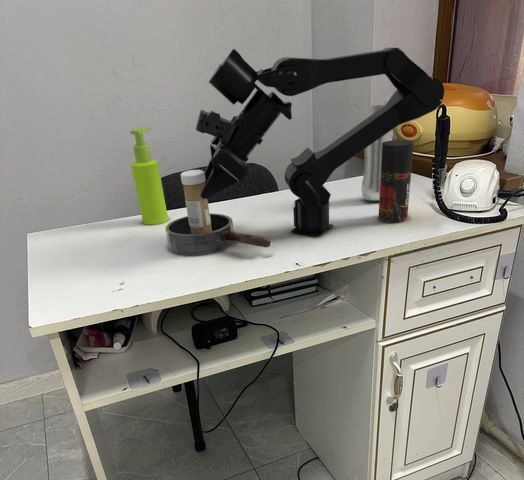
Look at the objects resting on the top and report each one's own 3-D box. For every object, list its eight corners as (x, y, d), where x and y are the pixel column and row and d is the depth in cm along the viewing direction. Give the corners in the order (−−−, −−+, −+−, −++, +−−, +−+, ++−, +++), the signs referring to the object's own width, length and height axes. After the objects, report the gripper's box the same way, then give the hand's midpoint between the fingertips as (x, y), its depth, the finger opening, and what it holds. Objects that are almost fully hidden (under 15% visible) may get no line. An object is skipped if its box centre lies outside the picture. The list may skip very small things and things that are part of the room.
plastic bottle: (392, 202, 112) (398, 106, 101) (363, 204, 112) (366, 109, 102) (386, 195, 118) (392, 103, 107) (358, 197, 118) (361, 105, 107)
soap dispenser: (174, 215, 117) (158, 125, 106) (160, 225, 112) (142, 131, 101) (153, 214, 119) (135, 126, 108) (138, 224, 114) (118, 131, 103)
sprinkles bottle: (218, 238, 99) (209, 170, 92) (200, 245, 96) (189, 176, 89) (204, 234, 102) (194, 168, 95) (186, 241, 99) (175, 173, 92)
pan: (232, 228, 106) (230, 210, 103) (236, 250, 94) (234, 230, 92) (170, 235, 105) (167, 217, 103) (167, 259, 94) (163, 239, 91)
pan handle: (274, 245, 90) (273, 236, 89) (267, 249, 89) (266, 240, 88) (226, 237, 96) (225, 228, 95) (219, 240, 95) (218, 232, 94)
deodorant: (379, 213, 106) (383, 140, 98) (407, 214, 105) (414, 139, 97) (377, 222, 101) (381, 146, 93) (406, 223, 100) (413, 145, 92)
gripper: (216, 87, 93) (169, 154, 99) (220, 96, 77) (164, 175, 83) (260, 127, 98) (213, 189, 103) (272, 143, 82) (216, 215, 88)
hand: (201, 191), depth 94 cm, fingers open, 9 cm apart
